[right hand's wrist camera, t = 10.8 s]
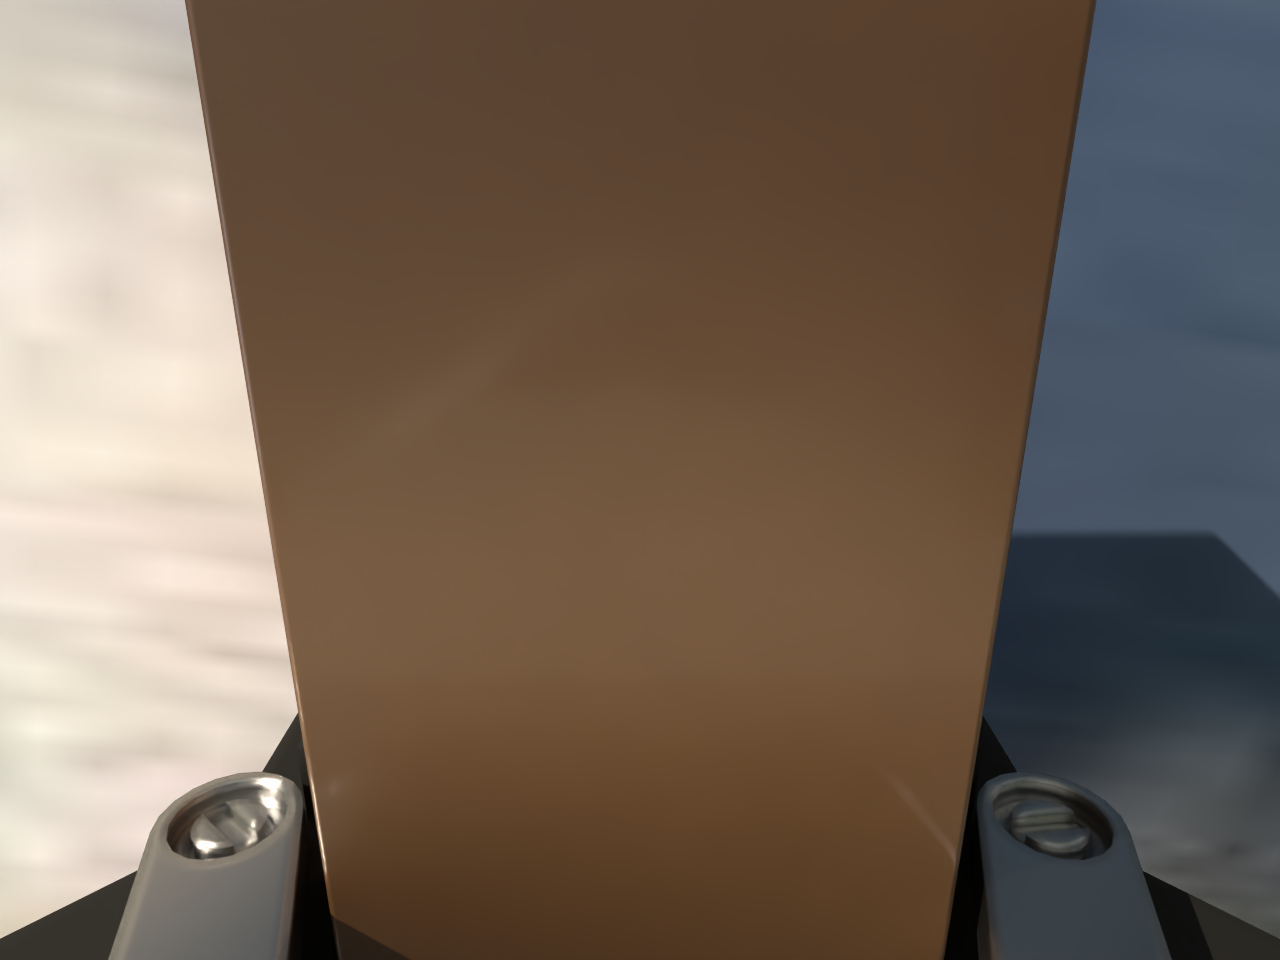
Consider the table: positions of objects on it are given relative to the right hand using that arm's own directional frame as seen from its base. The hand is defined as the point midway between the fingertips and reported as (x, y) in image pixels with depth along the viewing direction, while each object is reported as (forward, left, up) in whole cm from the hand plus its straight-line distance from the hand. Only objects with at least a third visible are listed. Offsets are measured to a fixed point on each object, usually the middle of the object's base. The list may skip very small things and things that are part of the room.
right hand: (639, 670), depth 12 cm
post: (+28, -12, -3) cm, 31 cm away
